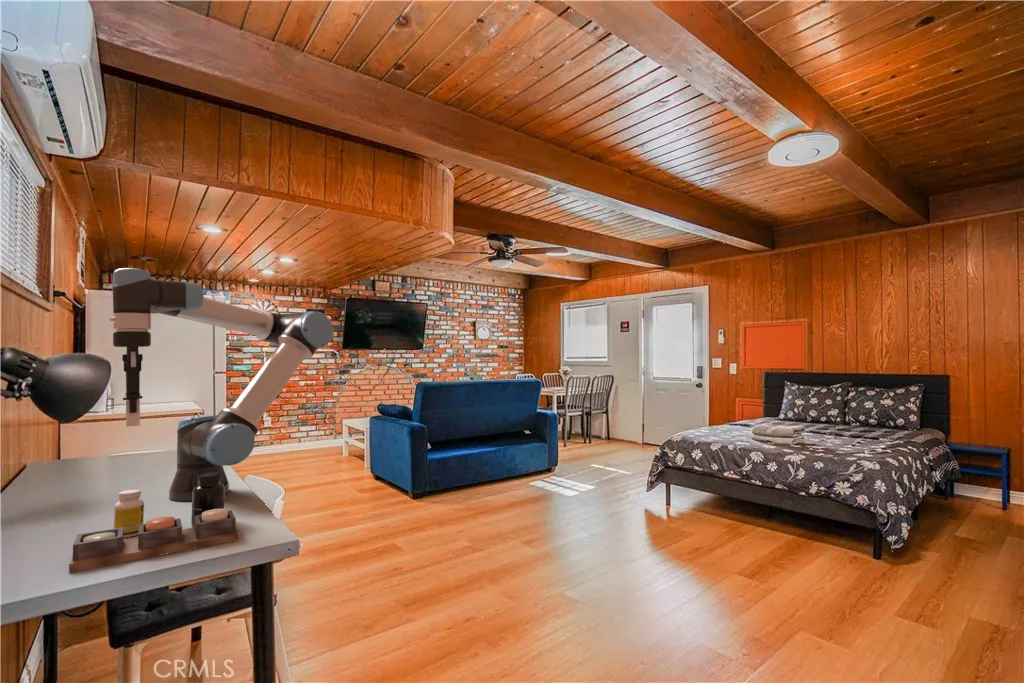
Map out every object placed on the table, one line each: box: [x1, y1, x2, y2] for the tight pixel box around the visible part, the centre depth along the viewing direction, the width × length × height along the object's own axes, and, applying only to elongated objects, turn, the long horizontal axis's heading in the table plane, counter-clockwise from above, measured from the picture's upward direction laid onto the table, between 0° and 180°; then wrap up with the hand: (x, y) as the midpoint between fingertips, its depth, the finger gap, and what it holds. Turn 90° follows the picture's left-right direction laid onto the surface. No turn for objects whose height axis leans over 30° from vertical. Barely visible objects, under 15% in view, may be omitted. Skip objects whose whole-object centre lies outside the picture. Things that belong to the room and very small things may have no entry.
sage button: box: [83, 532, 115, 542], centre depth 101 cm, size 5×5×2 cm
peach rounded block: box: [202, 508, 229, 523], centre depth 112 cm, size 5×5×2 cm
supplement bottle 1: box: [113, 489, 145, 539], centre depth 115 cm, size 5×5×10 cm
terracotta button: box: [145, 516, 176, 532], centre depth 107 cm, size 5×5×2 cm
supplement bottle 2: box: [190, 472, 226, 528], centre depth 122 cm, size 7×7×12 cm
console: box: [68, 510, 239, 573], centre depth 107 cm, size 28×11×4 cm, turn 126°
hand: (133, 425), depth 125 cm, fingers closed
